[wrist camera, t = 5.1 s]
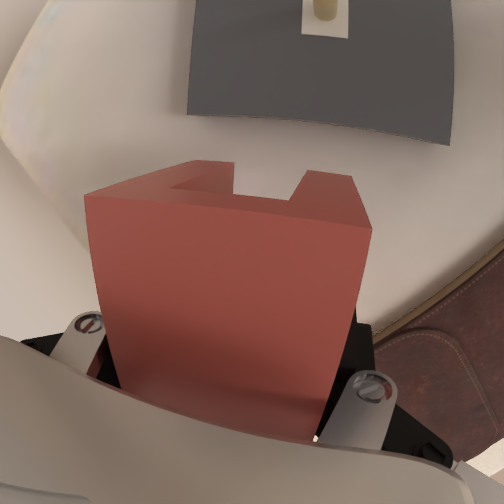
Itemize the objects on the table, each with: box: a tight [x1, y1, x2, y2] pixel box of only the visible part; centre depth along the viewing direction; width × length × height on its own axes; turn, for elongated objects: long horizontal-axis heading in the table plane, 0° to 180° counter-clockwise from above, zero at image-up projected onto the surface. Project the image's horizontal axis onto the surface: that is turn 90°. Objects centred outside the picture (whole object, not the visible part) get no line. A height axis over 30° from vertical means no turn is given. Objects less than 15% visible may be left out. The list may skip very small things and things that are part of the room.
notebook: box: [372, 239, 504, 463], centre depth 16 cm, size 15×20×2 cm
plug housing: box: [84, 160, 372, 441], centre depth 9 cm, size 5×10×6 cm, turn 176°
